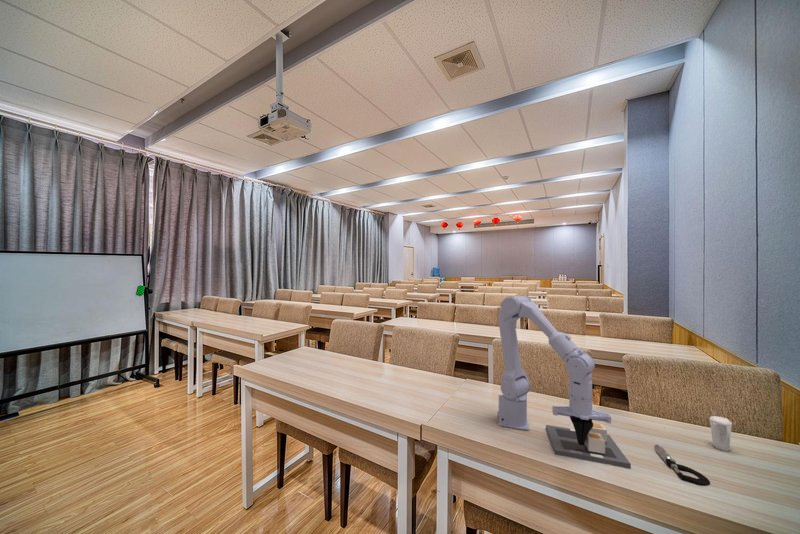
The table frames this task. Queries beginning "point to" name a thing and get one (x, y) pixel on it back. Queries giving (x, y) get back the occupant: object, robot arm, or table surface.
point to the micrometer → (682, 468)
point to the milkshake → (720, 432)
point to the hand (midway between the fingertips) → (580, 443)
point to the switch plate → (584, 448)
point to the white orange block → (599, 430)
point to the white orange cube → (595, 443)
